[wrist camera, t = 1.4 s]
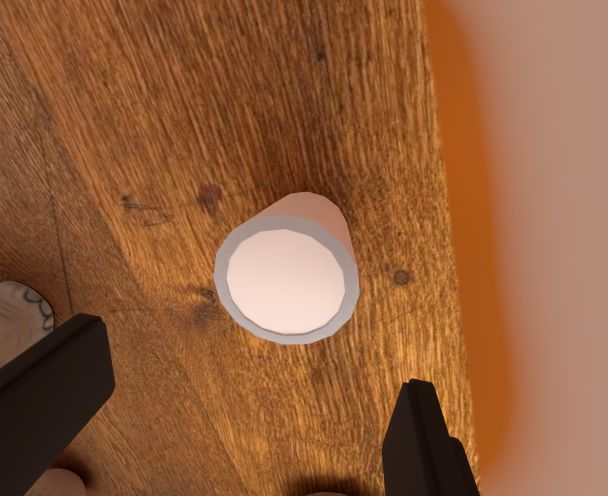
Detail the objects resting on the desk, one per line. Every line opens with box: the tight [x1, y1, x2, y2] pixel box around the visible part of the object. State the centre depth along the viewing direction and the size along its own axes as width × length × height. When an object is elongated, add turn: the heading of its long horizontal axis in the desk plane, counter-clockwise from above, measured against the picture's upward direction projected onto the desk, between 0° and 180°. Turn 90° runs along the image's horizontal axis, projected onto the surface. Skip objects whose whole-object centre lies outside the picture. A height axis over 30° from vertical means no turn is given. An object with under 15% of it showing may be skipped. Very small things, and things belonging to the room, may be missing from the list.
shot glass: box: [213, 192, 360, 344], centre depth 17 cm, size 7×7×7 cm
